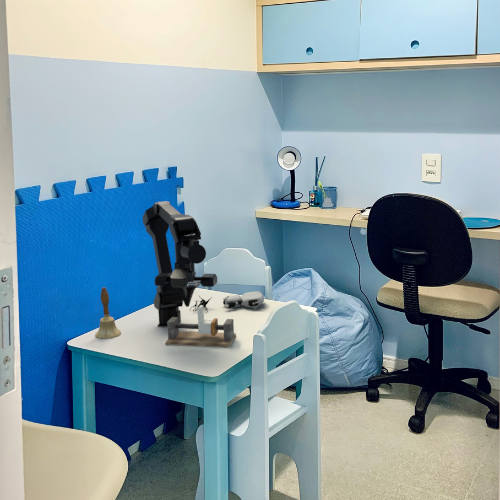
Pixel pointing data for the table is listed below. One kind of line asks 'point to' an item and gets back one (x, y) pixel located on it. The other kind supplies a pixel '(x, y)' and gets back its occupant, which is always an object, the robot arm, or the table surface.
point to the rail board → (200, 339)
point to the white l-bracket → (203, 322)
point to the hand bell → (107, 320)
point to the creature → (201, 304)
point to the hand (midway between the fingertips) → (187, 306)
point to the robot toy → (244, 300)
